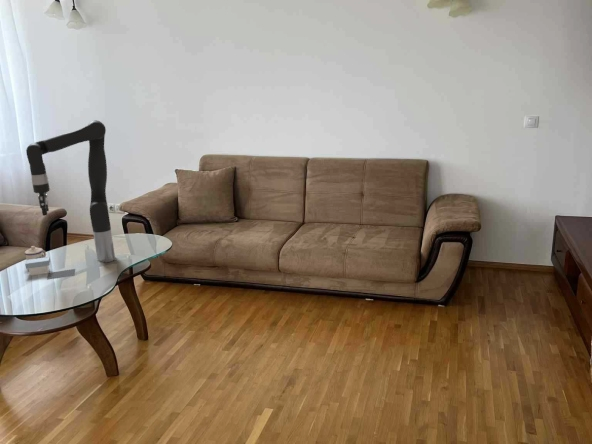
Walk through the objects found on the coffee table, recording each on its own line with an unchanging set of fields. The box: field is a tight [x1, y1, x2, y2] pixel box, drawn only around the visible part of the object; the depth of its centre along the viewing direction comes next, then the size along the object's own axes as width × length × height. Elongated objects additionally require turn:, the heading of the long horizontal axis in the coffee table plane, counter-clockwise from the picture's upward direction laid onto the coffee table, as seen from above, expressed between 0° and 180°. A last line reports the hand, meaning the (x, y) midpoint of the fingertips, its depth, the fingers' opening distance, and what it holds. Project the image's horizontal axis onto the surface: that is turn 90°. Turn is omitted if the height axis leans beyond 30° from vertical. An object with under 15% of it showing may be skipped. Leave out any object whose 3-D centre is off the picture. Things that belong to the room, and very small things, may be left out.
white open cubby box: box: [27, 265, 51, 276], centre depth 288 cm, size 9×6×5 cm, turn 109°
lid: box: [24, 256, 51, 270], centre depth 287 cm, size 11×6×3 cm, turn 109°
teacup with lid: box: [24, 245, 47, 261], centre depth 299 cm, size 12×9×12 cm
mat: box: [46, 268, 76, 280], centre depth 285 cm, size 13×10×1 cm
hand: (45, 213), depth 289 cm, fingers open, 8 cm apart
